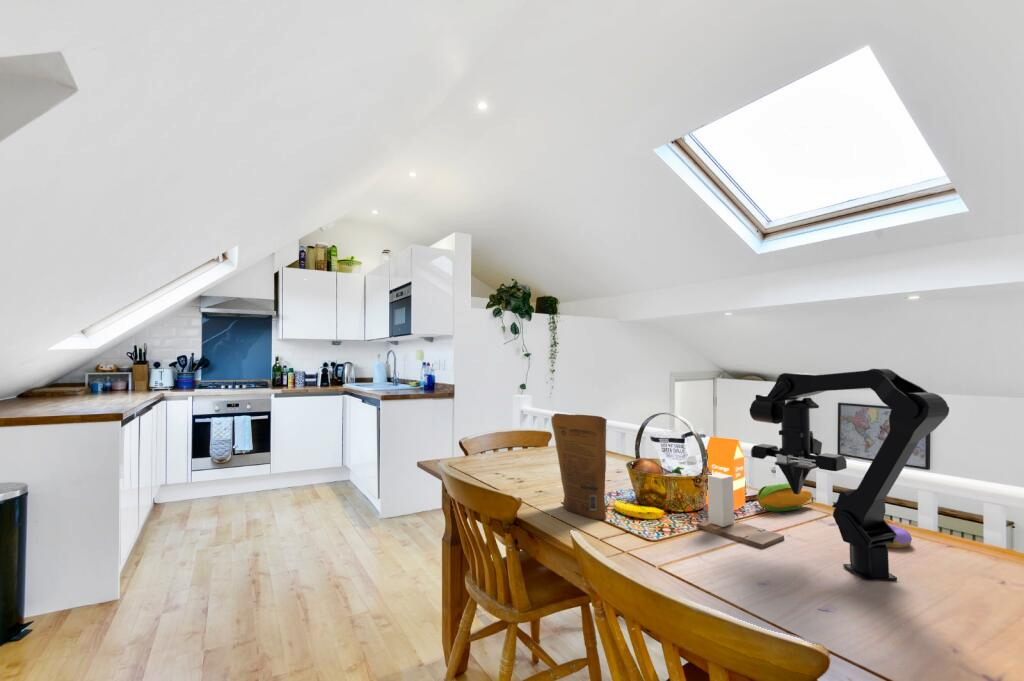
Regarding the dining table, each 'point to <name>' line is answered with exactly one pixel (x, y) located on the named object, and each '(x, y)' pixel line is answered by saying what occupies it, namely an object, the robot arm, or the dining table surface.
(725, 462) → the orange juice
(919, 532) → the dining table surface
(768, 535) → the brown flat wooden board
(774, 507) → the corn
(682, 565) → the dining table surface
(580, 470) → the pancake mix bag
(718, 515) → the white tall block
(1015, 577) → the dining table surface
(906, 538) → the donut
